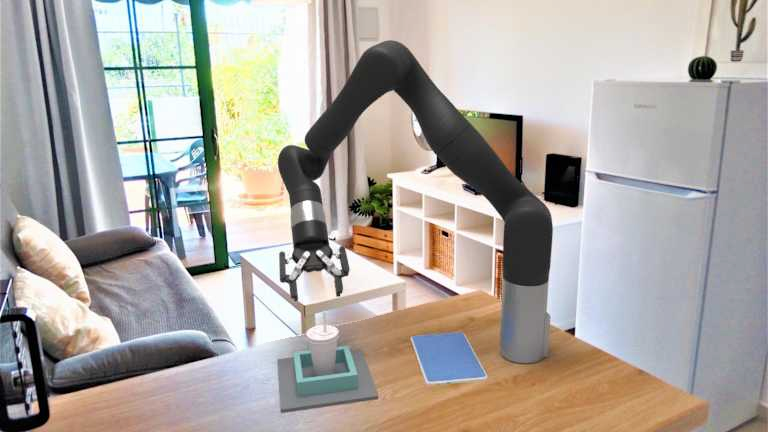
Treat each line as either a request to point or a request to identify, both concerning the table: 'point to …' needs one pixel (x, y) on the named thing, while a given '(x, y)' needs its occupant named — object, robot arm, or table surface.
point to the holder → (324, 381)
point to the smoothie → (323, 347)
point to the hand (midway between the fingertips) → (317, 297)
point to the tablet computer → (447, 359)
